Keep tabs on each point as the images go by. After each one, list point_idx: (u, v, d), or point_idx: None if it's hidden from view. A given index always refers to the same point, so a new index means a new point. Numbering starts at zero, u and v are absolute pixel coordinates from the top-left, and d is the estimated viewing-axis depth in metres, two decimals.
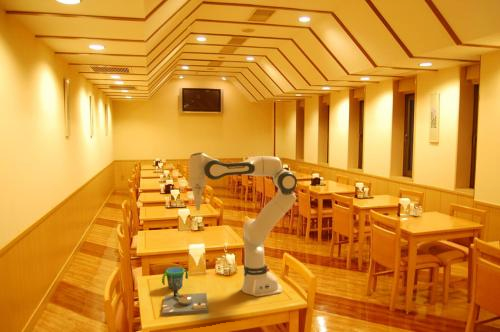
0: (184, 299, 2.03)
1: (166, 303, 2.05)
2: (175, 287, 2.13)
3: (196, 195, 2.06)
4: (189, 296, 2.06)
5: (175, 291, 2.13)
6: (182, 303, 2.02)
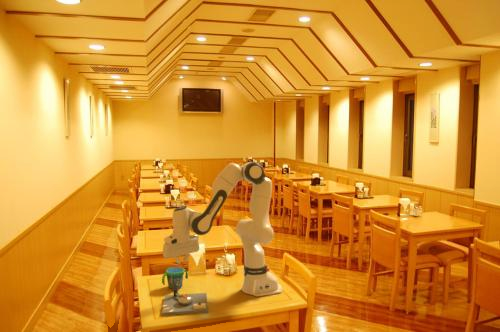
0: (184, 299, 2.03)
1: (166, 303, 2.05)
2: (175, 287, 2.13)
3: None
4: (189, 296, 2.06)
5: (175, 291, 2.13)
6: (182, 303, 2.02)
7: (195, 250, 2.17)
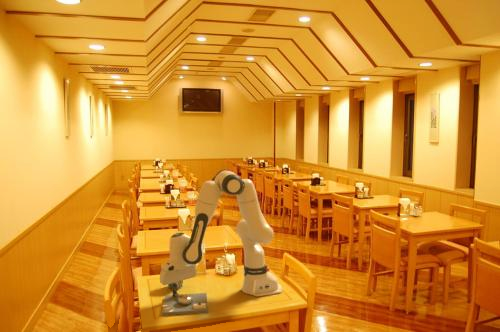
0: (184, 299, 2.03)
1: (166, 303, 2.05)
2: (174, 287, 2.12)
3: None
4: (189, 296, 2.07)
5: (174, 291, 2.12)
6: (182, 303, 2.02)
7: (192, 276, 2.18)
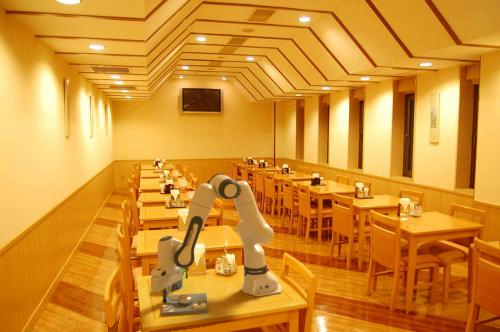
0: (188, 298, 2.04)
1: (166, 303, 2.05)
2: (166, 293, 2.05)
3: None
4: (187, 295, 2.08)
5: (166, 297, 2.06)
6: (188, 303, 2.03)
7: (179, 279, 2.13)
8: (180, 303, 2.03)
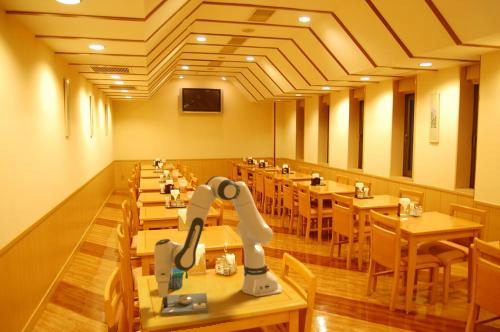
0: (190, 297, 2.05)
1: None
2: (167, 297, 2.00)
3: None
4: (184, 295, 2.08)
5: (167, 301, 2.00)
6: (191, 301, 2.04)
7: None
8: (183, 304, 2.02)
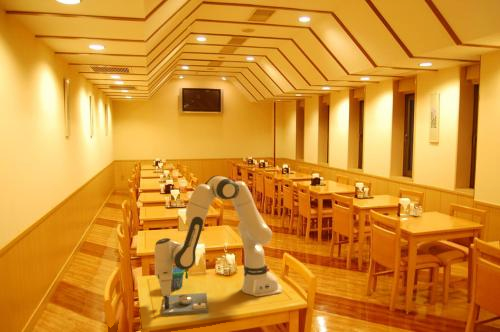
0: (190, 297, 2.06)
1: None
2: (168, 298, 1.99)
3: None
4: (184, 295, 2.07)
5: (168, 302, 1.99)
6: (191, 301, 2.05)
7: None
8: (184, 304, 2.02)
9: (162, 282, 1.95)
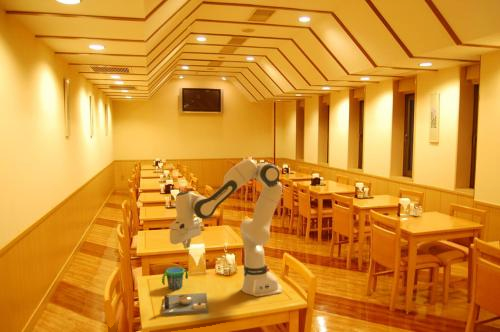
0: (190, 297, 2.06)
1: None
2: (168, 298, 1.99)
3: None
4: (184, 295, 2.07)
5: (168, 302, 1.99)
6: (191, 301, 2.05)
7: (198, 234, 2.17)
8: (184, 304, 2.02)
9: (171, 230, 2.05)
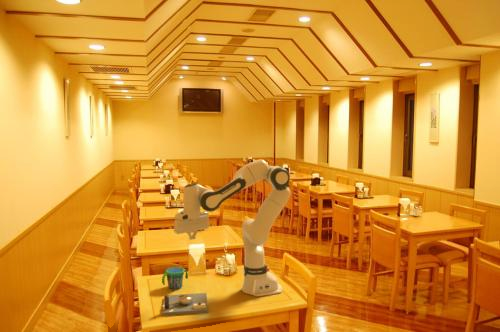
0: (190, 297, 2.06)
1: None
2: (168, 298, 1.99)
3: None
4: (184, 295, 2.07)
5: (168, 302, 1.99)
6: (191, 301, 2.05)
7: (205, 227, 2.19)
8: (184, 304, 2.02)
9: (175, 220, 2.11)
